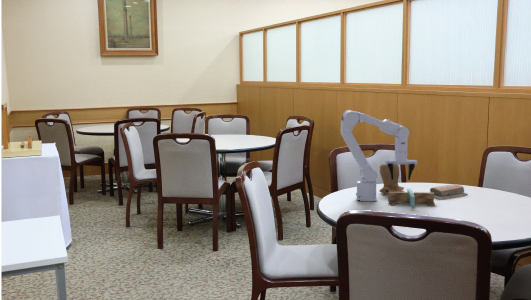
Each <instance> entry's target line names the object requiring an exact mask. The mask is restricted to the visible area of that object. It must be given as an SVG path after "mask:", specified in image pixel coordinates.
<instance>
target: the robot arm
mask: <svg viewBox="0 0 531 300" xmlns="http://www.w3.org/2000/svg"><path fill="white" fill-rule="evenodd" d="M358 123H359V124H360V123H367V124H370V125H373V126H375V127H378V128H379V131H381V132H383V133H385V134H388V135H391V136H394V137H395V138H394V159H385V160H384V164H385V165H388V168H389V170H390V173H391V179H392V180H393V164H398V165H405V166H406V165H408V173H407V180H408V181H410V180H411V177H412V173H413V171H414V170H415V166H417V165H418V160H417V159H408V146H409V144H408V143H409V142H408V138H409V137H410V130H409V128H408V127H406V126H404V125H402V124H401V123H398V122H397V123H395V122H393V121H392V119H389V118H388V119H387V118H385V119H383V120H381V119H378V118H376V117H374V116H370V115H368V114H366V113H362V112H359V111H354V110H351V109H346V110H345V111H344V112H343V113H342V116H341V117H340V129H339V130H340V135H341V137H342V138H343V140H344V142H345V144H346V146H347V147H348V150H349V151H350V153H351V155H352V157H353V158H354V159H355V160H354V161H355V162H356V163H357V165H358V169H359V171H360V172H359V173H360V174H359V175H360V176H361V179H360V180H357V181H356V193H355V197H356V201H357V200H360V201H359V202H378V197H377V179H378V172H377V170H375V169H374V168H372V166H371V165H370V163H369V161H368V159H367V158H366V156H365V154H364V152H363V151H362V148H361V146H360V145H359V144H358V142H357V140H356V138H355V136H354V134H353V130H354V127H355V126H356V125H357V124H358Z"/></svg>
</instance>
